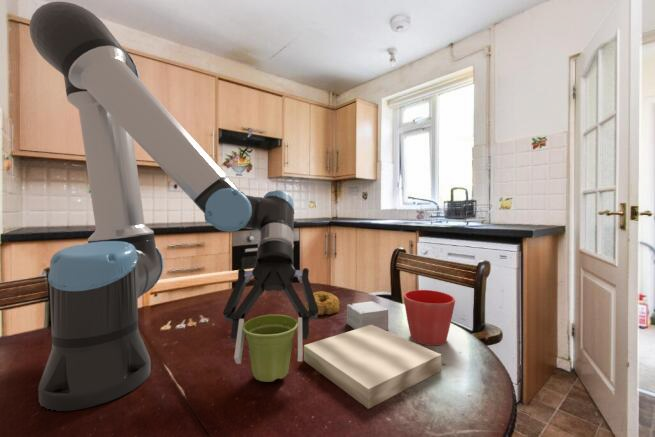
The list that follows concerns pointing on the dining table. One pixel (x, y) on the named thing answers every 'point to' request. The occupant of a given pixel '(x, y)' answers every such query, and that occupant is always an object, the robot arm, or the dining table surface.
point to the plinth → (372, 363)
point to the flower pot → (429, 315)
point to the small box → (367, 315)
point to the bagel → (325, 303)
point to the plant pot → (270, 345)
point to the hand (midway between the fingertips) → (269, 359)
